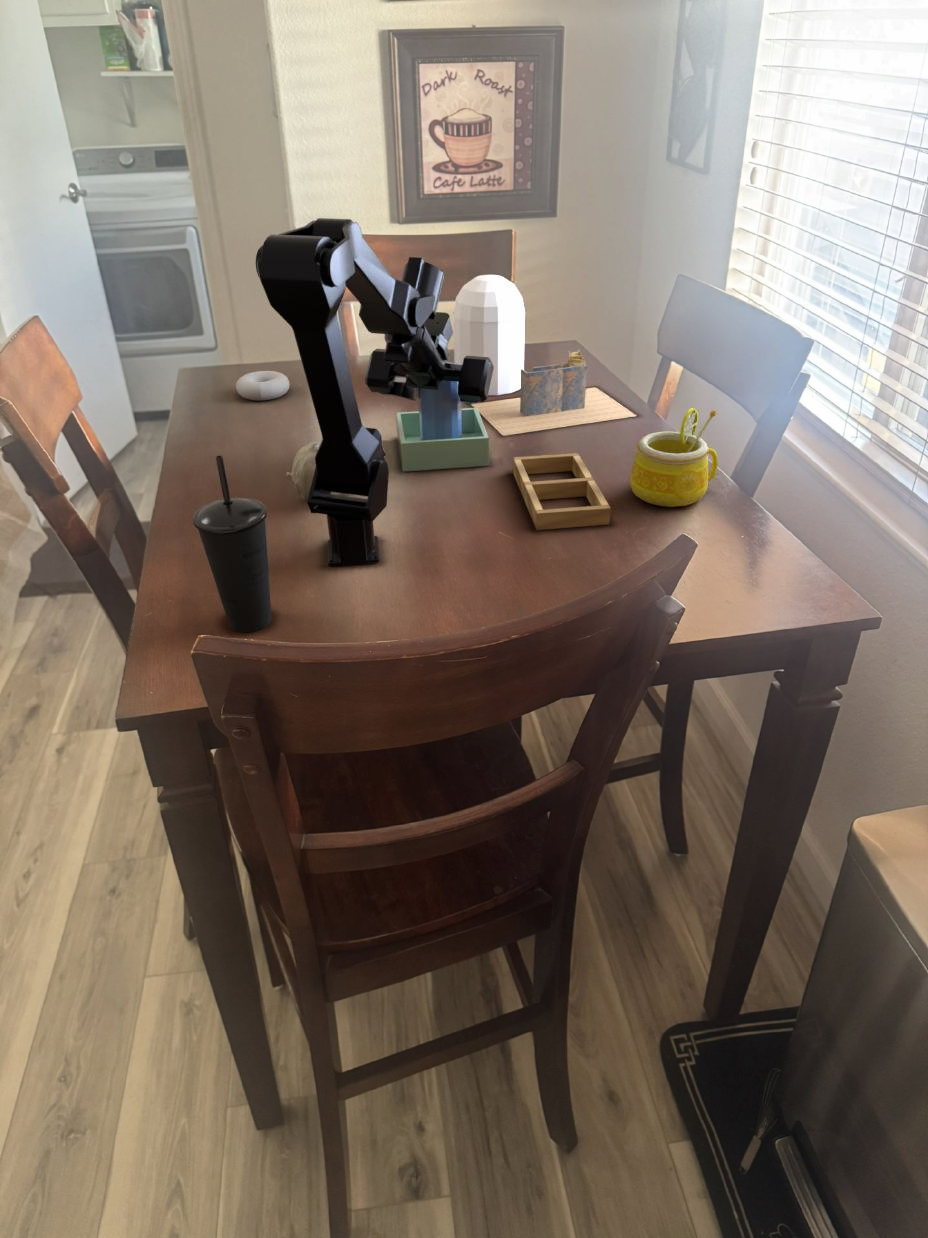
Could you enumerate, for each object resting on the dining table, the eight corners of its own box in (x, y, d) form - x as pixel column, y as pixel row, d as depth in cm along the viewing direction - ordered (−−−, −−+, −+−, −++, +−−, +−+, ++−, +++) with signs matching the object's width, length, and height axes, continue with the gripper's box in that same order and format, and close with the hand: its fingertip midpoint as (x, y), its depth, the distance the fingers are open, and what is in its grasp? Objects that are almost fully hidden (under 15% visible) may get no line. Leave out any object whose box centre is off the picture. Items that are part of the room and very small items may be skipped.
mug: (649, 517, 117) (659, 434, 111) (617, 485, 126) (623, 406, 119) (733, 504, 120) (747, 422, 113) (695, 474, 129) (706, 396, 122)
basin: (489, 465, 133) (488, 437, 130) (402, 471, 132) (401, 443, 129) (477, 433, 144) (477, 407, 141) (397, 439, 143) (396, 412, 140)
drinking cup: (255, 595, 102) (226, 436, 91) (297, 617, 98) (272, 453, 87) (202, 624, 98) (164, 459, 86) (244, 647, 93) (211, 478, 82)
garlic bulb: (356, 507, 127) (375, 446, 122) (329, 523, 120) (348, 459, 115) (302, 480, 129) (318, 419, 124) (272, 494, 121) (288, 430, 116)
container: (536, 379, 167) (539, 270, 156) (502, 400, 157) (502, 286, 146) (477, 369, 173) (476, 264, 162) (441, 388, 164) (437, 278, 152)
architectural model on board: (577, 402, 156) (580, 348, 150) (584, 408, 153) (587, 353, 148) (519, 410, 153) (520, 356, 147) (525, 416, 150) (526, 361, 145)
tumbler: (470, 448, 137) (469, 367, 130) (440, 460, 134) (437, 377, 126) (443, 437, 141) (440, 358, 134) (412, 448, 138) (408, 368, 130)
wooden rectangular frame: (609, 524, 116) (610, 507, 114) (536, 530, 115) (537, 513, 114) (576, 468, 132) (577, 452, 130) (512, 472, 131) (512, 457, 129)
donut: (283, 383, 169) (232, 390, 165) (281, 365, 167) (229, 372, 163) (296, 398, 161) (243, 406, 157) (294, 380, 159) (241, 387, 156)
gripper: (489, 301, 118) (510, 357, 133) (366, 293, 123) (399, 349, 138) (473, 375, 117) (496, 424, 131) (348, 364, 122) (383, 412, 136)
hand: (443, 400), depth 134 cm, fingers open, 9 cm apart
